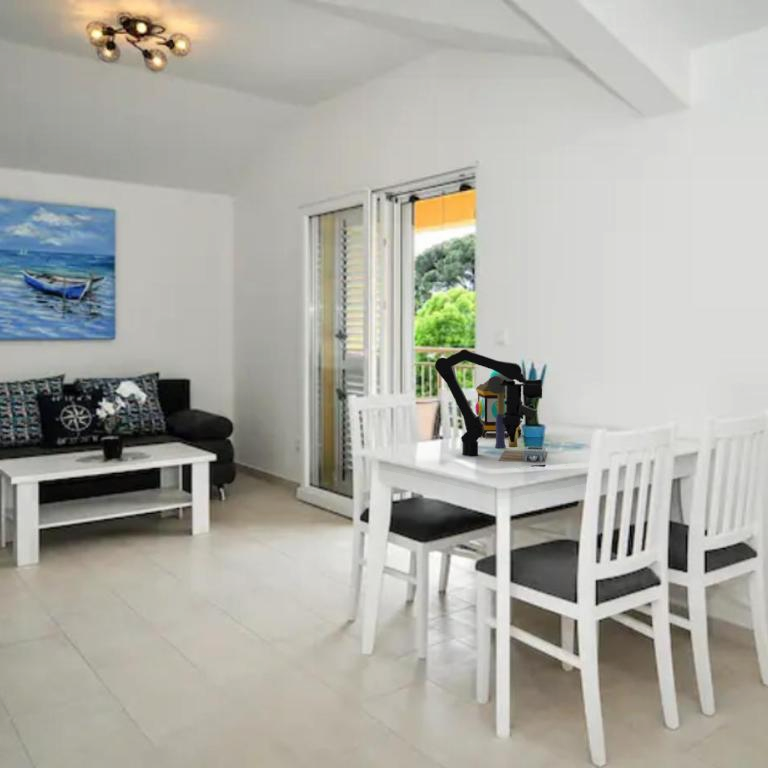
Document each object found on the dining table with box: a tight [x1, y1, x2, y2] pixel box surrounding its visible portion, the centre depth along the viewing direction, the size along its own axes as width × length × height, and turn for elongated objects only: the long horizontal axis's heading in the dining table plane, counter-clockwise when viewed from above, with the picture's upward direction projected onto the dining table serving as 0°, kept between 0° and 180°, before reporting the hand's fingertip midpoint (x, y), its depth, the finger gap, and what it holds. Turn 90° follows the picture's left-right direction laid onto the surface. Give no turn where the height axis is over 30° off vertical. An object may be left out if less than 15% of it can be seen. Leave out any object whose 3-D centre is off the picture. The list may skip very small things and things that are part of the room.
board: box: [497, 449, 548, 467], centre depth 279 cm, size 24×16×2 cm, turn 166°
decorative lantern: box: [474, 370, 522, 439], centre depth 345 cm, size 20×20×30 cm
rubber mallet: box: [487, 374, 515, 449], centre depth 298 cm, size 12×8×30 cm, turn 152°
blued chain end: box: [523, 446, 546, 463], centre depth 274 cm, size 15×7×3 cm, turn 166°
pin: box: [508, 427, 519, 448], centre depth 279 cm, size 5×5×9 cm
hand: (512, 441), depth 280 cm, fingers closed on pin, 3 cm apart
